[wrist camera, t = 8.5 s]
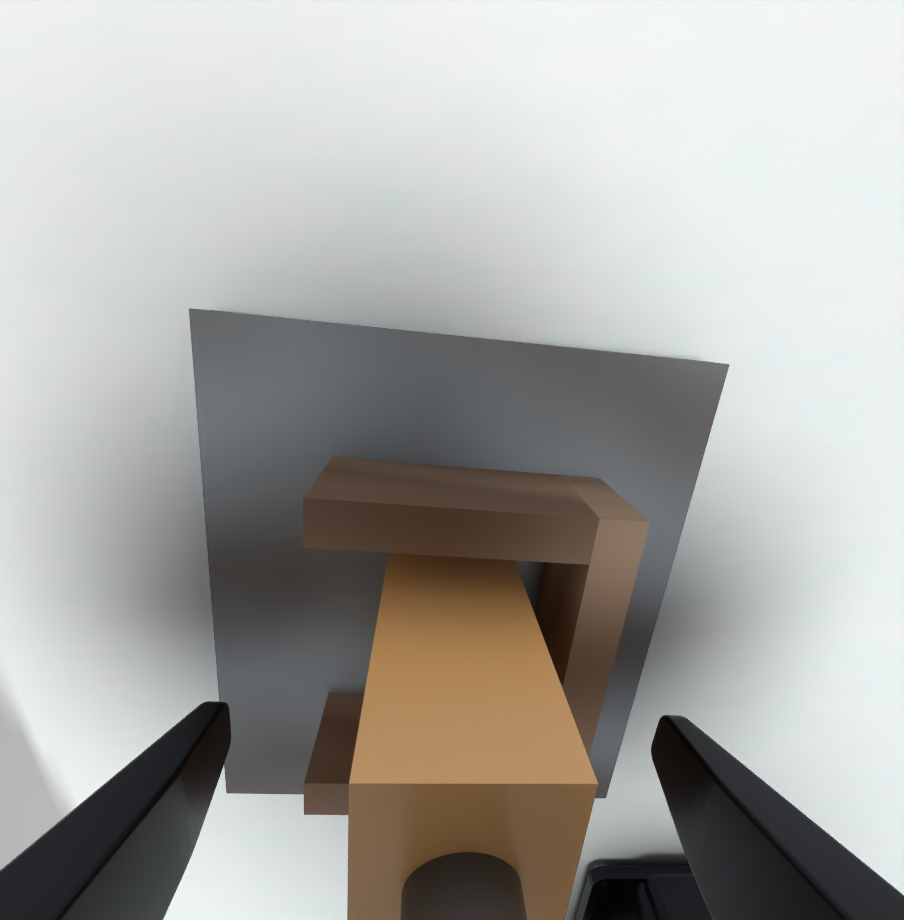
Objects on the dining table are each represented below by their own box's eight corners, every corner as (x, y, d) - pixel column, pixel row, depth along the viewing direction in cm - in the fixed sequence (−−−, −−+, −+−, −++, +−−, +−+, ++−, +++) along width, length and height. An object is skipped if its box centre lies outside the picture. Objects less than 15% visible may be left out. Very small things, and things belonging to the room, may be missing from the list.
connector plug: (491, 669, 12) (602, 1258, 4) (385, 667, 12) (309, 1284, 4) (508, 543, 11) (698, 1051, 3) (390, 538, 11) (299, 1069, 3)
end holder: (594, 768, 15) (642, 895, 11) (240, 761, 14) (180, 898, 10) (702, 361, 11) (826, 376, 7) (212, 310, 10) (100, 301, 6)
